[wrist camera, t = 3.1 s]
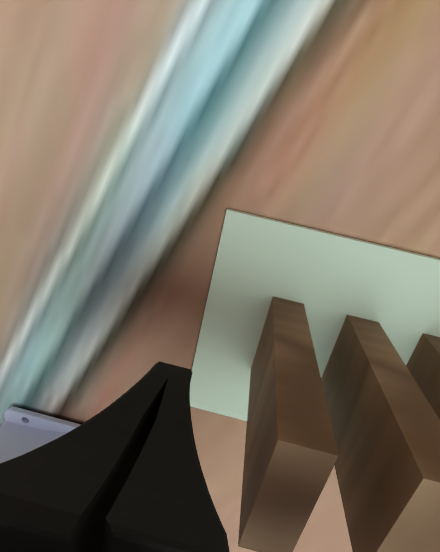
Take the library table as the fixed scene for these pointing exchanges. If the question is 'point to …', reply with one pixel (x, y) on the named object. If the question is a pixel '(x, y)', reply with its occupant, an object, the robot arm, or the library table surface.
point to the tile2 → (382, 443)
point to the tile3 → (427, 369)
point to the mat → (303, 299)
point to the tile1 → (284, 433)
